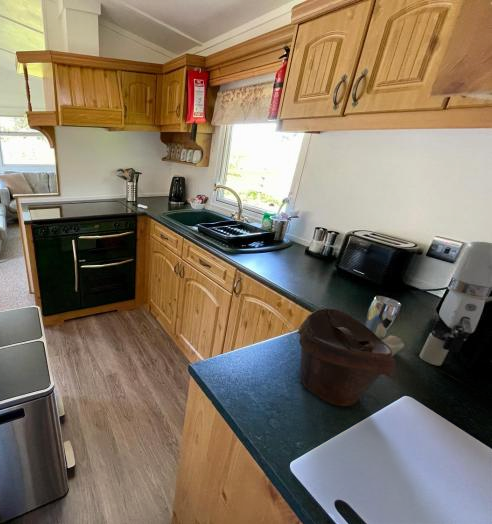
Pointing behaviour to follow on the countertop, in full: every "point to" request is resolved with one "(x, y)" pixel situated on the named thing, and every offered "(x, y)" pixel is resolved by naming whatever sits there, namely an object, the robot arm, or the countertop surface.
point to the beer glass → (382, 315)
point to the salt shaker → (393, 344)
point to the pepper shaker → (435, 348)
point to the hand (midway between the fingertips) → (444, 341)
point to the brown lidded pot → (341, 356)
